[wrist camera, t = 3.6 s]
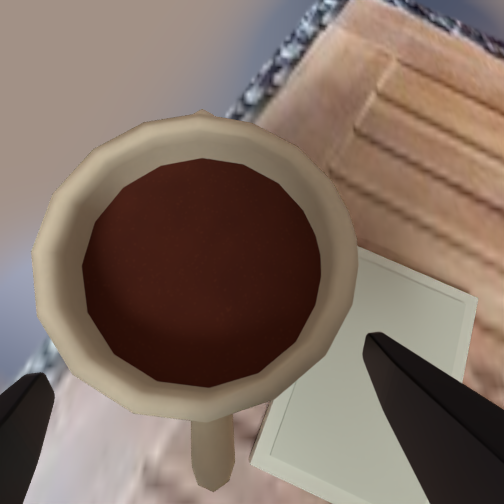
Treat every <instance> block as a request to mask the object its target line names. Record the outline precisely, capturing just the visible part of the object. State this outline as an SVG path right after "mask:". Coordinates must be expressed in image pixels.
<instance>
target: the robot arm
mask: <svg viewBox="0 0 504 504" xmlns="http://www.w3.org/2000/svg"><path fill="white" fill-rule="evenodd" d="M362 356H363V361H364V363H365V366H366V369H367V371H368V374H369V376H370V379H371V382H372V384H373V387H374V389H375V392H376V395H377V397H378V400H379V402H380V405H381V407H382V410H383V412H384V414H385V416H386V418H387V420H388V422H389V424H390V426H391V428H392V430H393V432H394V434H395V436H396V438H397V440H398V442H399V444H400V446H401V448H402V450H403V452H404V454H405V456H406V458H407V460H408V461H409V463H410V465H411V467H412V469H413V471H414V473H415V475H416V477H417V479H418V481H419V483H420V485H421V487H422V489H423V491H424V493H425V495H426V497H427V499H428V501H429V503H430V504H504V410H503V409H502V408H500V407H499V406H497V405H495V404H494V403H492V402H491V401H489V400H488V399H486V398H484V397H483V396H481V395H480V394H478V393H477V392H475V391H473V390H472V389H470V388H469V387H467V386H466V385H464V384H463V383H461V382H459V381H458V380H456V379H455V378H453V377H452V376H450V375H448V374H447V373H445V372H444V371H442V370H441V369H439V368H438V367H436V366H434V365H433V364H431V363H430V362H428V361H427V360H425V359H423V358H422V357H420V356H419V355H417V354H416V353H414V352H412V351H411V350H409V349H408V348H406V347H405V346H403V345H402V344H400V343H398V342H397V341H395V340H394V339H392V338H391V337H389V336H387V335H386V334H384V333H383V332H371V333H368V334H367V335H366V337H365V342H364V347H363V352H362ZM54 399H55V395H54V391H53V389H52V387H51V385H50V383H49V381H48V379H47V377H46V375H45V374H44V373H41V372H39V373H31V374H26V375H24V376H23V377H21V378H20V379H19V380H18V381H16V382H15V383H14V384H13V385H12V386H10V387H9V388H8V389H7V390H5V391H4V392H3V393H2V394H1V395H0V504H23V501H24V499H25V496H26V493H27V491H28V488H29V485H30V483H31V480H32V477H33V475H34V472H35V469H36V466H37V463H38V460H39V457H40V453H41V450H42V446H43V442H44V438H45V434H46V431H47V427H48V423H49V419H50V416H51V412H52V408H53V404H54Z"/></svg>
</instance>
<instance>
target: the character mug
mask: <svg viewBox="0 0 504 504" xmlns="http://www.w3.org/2000/svg"><path fill="white" fill-rule="evenodd" d="M31 255H32V266H33V277H34V288H35V300H36V311H37V317H38V319H39V320H40V322H41V323H42V325H43V327H44V328H45V330H46V332H47V333H48V335H49V337H50V338H51V340H52V342H53V343H54V345H55V347H56V348H57V350H58V351H59V353H60V355H61V356H62V358H63V360H64V361H65V363H66V365H67V366H68V368H69V369H70V371H71V373H72V374H73V375H74V376H76V377H77V378H79V379H80V380H82V381H83V382H85V383H87V384H88V385H90V386H91V387H93V388H94V389H96V390H97V391H99V392H101V393H102V394H104V395H105V396H107V397H108V398H110V399H112V400H113V401H115V402H116V403H118V404H119V405H121V406H122V407H124V408H126V409H127V410H129V411H130V412H132V413H134V414H142V415H150V416H158V417H166V418H174V419H182V420H190V421H191V459H192V468H193V471H194V474H195V477H196V480H197V483H198V485H199V486H202V487H204V488H206V489H208V490H210V491H212V492H214V491H216V490H217V489H219V488H220V487H222V486H223V485H224V484H226V483H227V482H229V480H230V476H231V473H232V470H233V466H234V463H235V450H234V429H233V413H236V412H239V411H242V410H245V409H248V408H251V407H253V406H256V405H259V404H262V403H265V402H268V401H271V400H274V399H276V398H277V397H278V396H279V395H280V394H282V393H283V392H284V391H285V390H286V389H287V388H289V387H290V386H291V385H292V384H293V383H294V382H295V381H297V380H298V379H299V378H300V377H301V376H302V375H304V374H305V373H306V372H307V371H308V370H309V369H310V368H312V367H313V366H314V365H315V364H316V363H317V362H319V361H320V360H321V359H322V358H323V357H324V356H326V354H327V352H328V350H329V348H330V346H331V344H332V343H333V341H334V339H335V337H336V335H337V333H338V331H339V329H340V327H341V325H342V324H343V322H344V320H345V318H346V316H347V314H348V312H349V310H350V308H351V307H352V305H353V299H354V292H355V286H356V279H357V273H358V266H359V264H358V247H357V237H356V234H355V230H354V227H353V224H352V220H351V217H350V214H349V212H348V210H347V208H346V206H345V204H344V202H343V200H342V199H341V197H340V195H339V193H338V191H337V189H336V187H335V185H334V184H333V182H332V181H331V180H330V179H329V178H328V177H327V176H326V175H325V174H324V173H323V172H322V171H321V170H320V169H319V168H318V167H317V166H316V165H315V164H314V163H313V162H312V161H311V160H310V159H309V158H308V157H307V156H306V155H305V154H304V153H303V152H302V151H301V150H300V149H299V147H297V146H295V145H293V144H291V143H289V142H287V141H285V140H284V139H282V138H280V137H278V136H276V135H274V134H272V133H270V132H268V131H266V130H264V129H262V128H260V127H259V126H257V125H255V124H253V123H249V122H244V121H238V120H233V119H227V118H222V117H216V116H214V115H212V114H211V113H209V112H207V111H205V110H203V109H201V110H199V111H198V112H196V113H194V114H192V115H186V116H180V117H174V118H167V119H161V120H155V121H149V122H144V123H142V124H140V125H138V126H136V127H134V128H132V129H130V130H129V131H127V132H125V133H123V134H121V135H119V136H118V137H116V138H114V139H112V140H110V141H108V142H106V143H104V144H102V145H100V146H99V147H97V148H95V149H93V150H92V151H91V152H90V153H89V154H88V155H87V157H86V158H85V159H84V160H83V161H82V162H81V163H80V164H79V165H78V167H77V168H76V169H75V170H74V171H73V172H72V173H71V174H70V175H69V176H68V177H67V178H66V180H65V181H64V182H63V183H62V184H61V185H60V186H59V187H58V188H57V189H56V191H55V192H54V193H53V194H52V197H51V200H50V202H49V205H48V208H47V210H46V213H45V216H44V219H43V222H42V224H41V227H40V229H39V232H38V235H37V237H36V240H35V243H34V246H33V248H32V251H31Z"/></svg>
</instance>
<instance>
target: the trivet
mask: <svg viewBox="0 0 504 504" xmlns="http://www.w3.org/2000/svg"><path fill="white" fill-rule="evenodd" d="M357 247H358V264H359V266H358V273H357V279H356V286H355V292H354V299H353V305H352V307H351V308H350V310H349V312H348V314H347V316H346V318H345V320H344V322H343V324H342V325H341V327H340V329H339V331H338V333H337V335H336V337H335V339H334V341H333V343H332V344H331V346H330V348H329V350H328V352H327V354H326V356H324V357H323V358H322V359H321V360H320V361H319V362H317V363H316V364H315V365H314V366H313V367H312V368H310V369H309V370H308V371H307V372H306V373H305V374H304V375H302V376H301V377H300V378H299V379H298V380H297V381H295V382H294V383H293V384H292V385H291V386H290V387H289V388H287V389H286V390H285V391H284V392H283V393H282V394H280V395H279V396H278V397H277V398H276V399H274V400H271V401H270V404H269V406H268V409H267V412H266V414H265V417H264V420H263V423H262V425H261V428H260V431H259V433H258V436H257V439H256V441H255V444H254V447H253V449H252V452H251V455H250V457H249V462H250V465H252V466H254V467H257V468H259V469H261V470H263V471H265V472H267V473H269V474H271V475H273V476H275V477H278V478H280V479H282V480H284V481H286V482H288V483H290V484H292V485H294V486H297V487H299V488H301V489H303V490H305V491H307V492H309V493H311V494H313V495H316V496H318V497H320V498H322V499H324V500H326V501H328V502H330V503H332V504H430V503H429V501H428V499H427V497H426V495H425V493H424V491H423V489H422V487H421V485H420V483H419V481H418V479H417V477H416V475H415V473H414V471H413V469H412V467H411V465H410V463H409V461H408V460H407V458H406V456H405V454H404V452H403V450H402V448H401V446H400V444H399V442H398V440H397V438H396V436H395V434H394V432H393V430H392V428H391V426H390V424H389V422H388V420H387V418H386V416H385V414H384V412H383V410H382V407H381V405H380V402H379V400H378V397H377V395H376V392H375V389H374V387H373V384H372V382H371V379H370V376H369V374H368V371H367V369H366V366H365V363H364V361H363V356H362V352H363V347H364V342H365V337H366V335H367V334H368V333H371V332H383V333H384V334H386V335H387V336H389V337H391V338H392V339H394V340H395V341H397V342H398V343H400V344H402V345H403V346H405V347H406V348H408V349H409V350H411V351H412V352H414V353H416V354H417V355H419V356H420V357H422V358H423V359H425V360H427V361H428V362H430V363H431V364H433V365H434V366H436V367H438V368H439V369H441V370H442V371H444V372H445V373H447V374H448V375H450V376H452V377H453V378H455V379H456V380H458V381H459V382H461V383H462V381H463V376H464V371H465V366H466V361H467V355H468V350H469V345H470V340H471V334H472V329H473V324H474V319H475V314H476V308H477V303H478V298H477V297H475V296H472V295H470V294H468V293H465V292H463V291H461V290H458V289H456V288H454V287H452V286H449V285H447V284H445V283H442V282H440V281H438V280H435V279H433V278H431V277H428V276H426V275H424V274H422V273H419V272H417V271H415V270H412V269H410V268H408V267H405V266H403V265H401V264H398V263H396V262H394V261H391V260H389V259H387V258H385V257H382V256H380V255H378V254H375V253H373V252H371V251H368V250H366V249H364V248H361V247H359V246H357Z"/></svg>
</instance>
